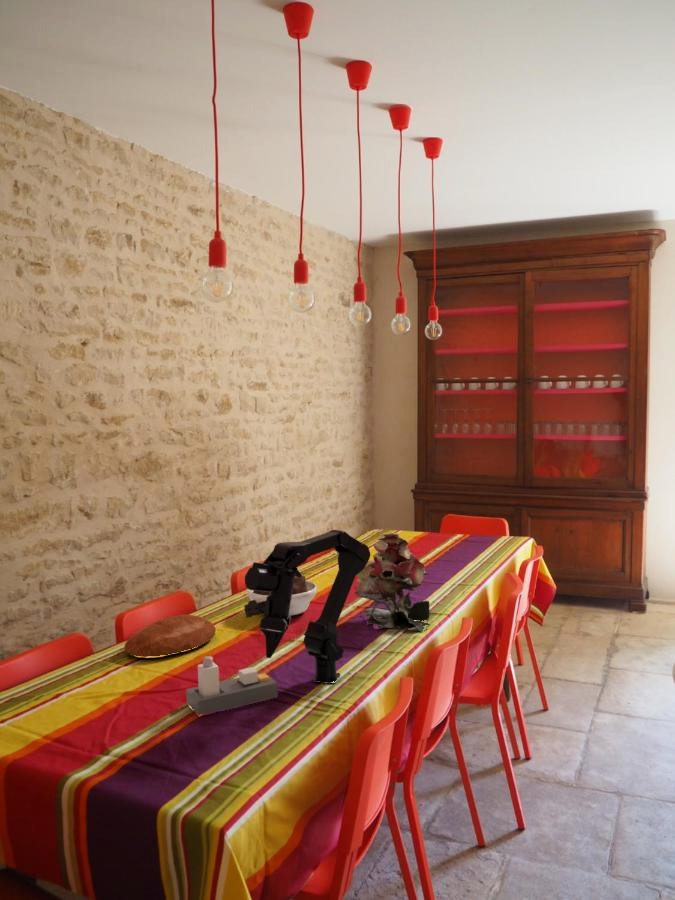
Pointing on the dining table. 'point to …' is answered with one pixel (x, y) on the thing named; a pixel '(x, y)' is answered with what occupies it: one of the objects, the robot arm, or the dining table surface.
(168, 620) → the bread
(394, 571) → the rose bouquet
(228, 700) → the grey boxy piece
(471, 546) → the dining table surface
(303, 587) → the white dessert bowl
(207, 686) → the plug
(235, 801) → the dining table surface
